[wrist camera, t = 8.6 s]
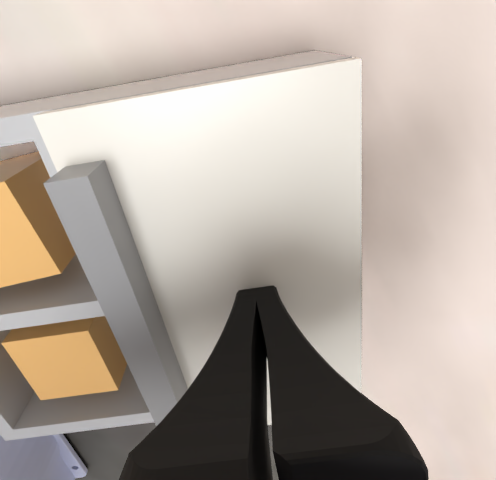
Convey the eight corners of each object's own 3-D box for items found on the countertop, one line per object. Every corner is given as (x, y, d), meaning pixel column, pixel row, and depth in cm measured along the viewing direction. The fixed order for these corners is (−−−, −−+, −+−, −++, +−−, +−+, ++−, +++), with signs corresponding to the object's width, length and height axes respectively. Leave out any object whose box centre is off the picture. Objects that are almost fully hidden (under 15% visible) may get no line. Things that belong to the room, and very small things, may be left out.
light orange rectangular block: (102, 218, 19) (61, 273, 14) (31, 235, 19) (-29, 294, 15) (64, 143, 17) (4, 181, 12) (-13, 164, 17) (-98, 208, 13)
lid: (357, 402, 17) (371, 443, 16) (175, 424, 18) (168, 467, 16) (355, 57, 10) (380, 61, 8) (42, 112, 10) (3, 127, 9)
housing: (329, 318, 22) (355, 396, 18) (53, 356, 23) (5, 440, 18) (314, 50, 15) (352, 56, 10) (-89, 121, 16) (-232, 158, 11)
